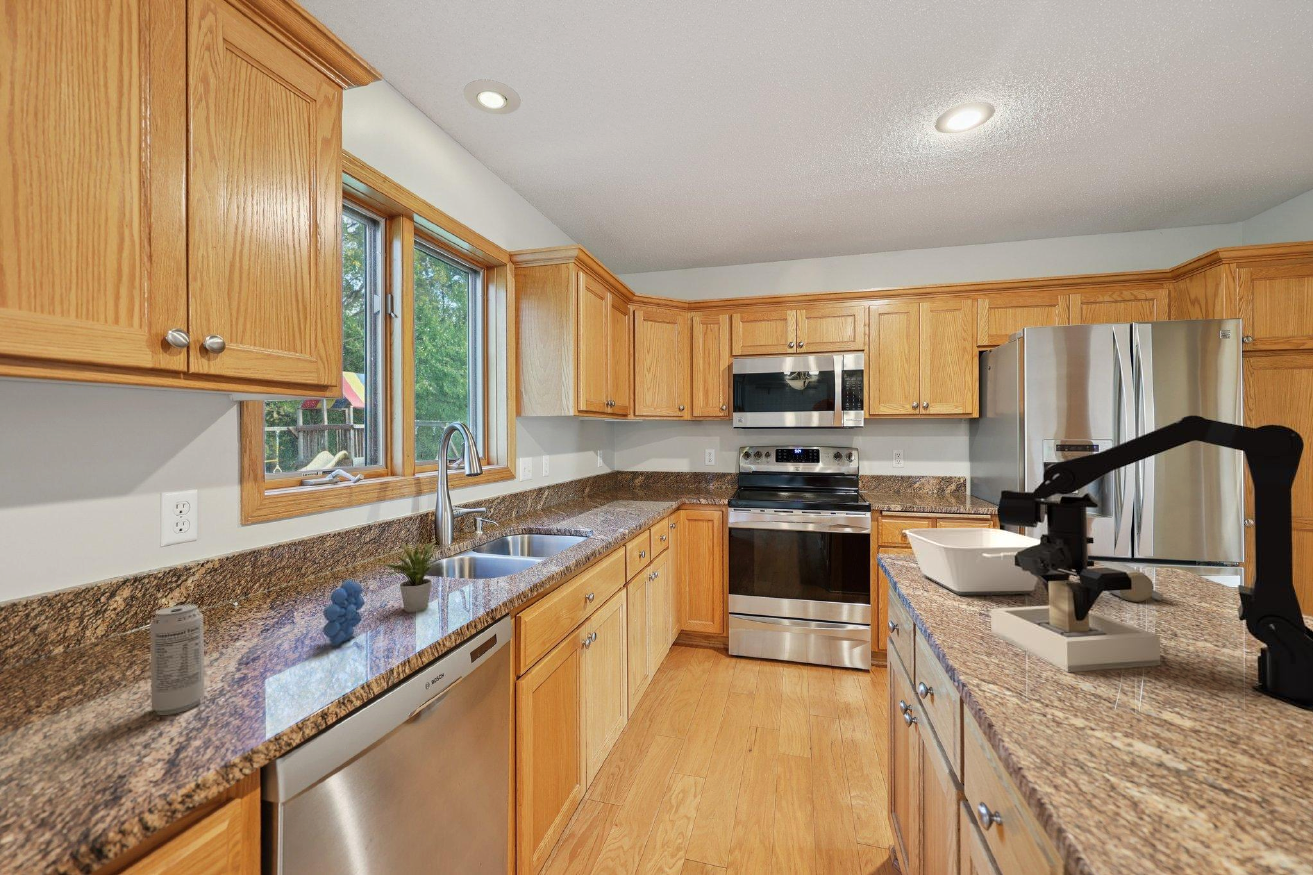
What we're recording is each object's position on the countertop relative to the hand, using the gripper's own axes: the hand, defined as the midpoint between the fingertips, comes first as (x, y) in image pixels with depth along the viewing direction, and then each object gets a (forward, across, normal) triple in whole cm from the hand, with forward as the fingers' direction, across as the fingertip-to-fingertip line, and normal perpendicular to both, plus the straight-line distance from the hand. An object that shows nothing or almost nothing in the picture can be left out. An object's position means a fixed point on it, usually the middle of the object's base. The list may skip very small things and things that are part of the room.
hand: (1069, 616), depth 96 cm
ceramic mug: (+6, -24, +40) cm, 47 cm away
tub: (+6, -40, +12) cm, 42 cm away
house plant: (+6, -47, -129) cm, 138 cm away
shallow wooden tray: (+6, 0, 0) cm, 6 cm away
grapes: (+6, -26, -137) cm, 140 cm away
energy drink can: (+6, -1, -149) cm, 149 cm away
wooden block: (+2, 0, 0) cm, 2 cm away
